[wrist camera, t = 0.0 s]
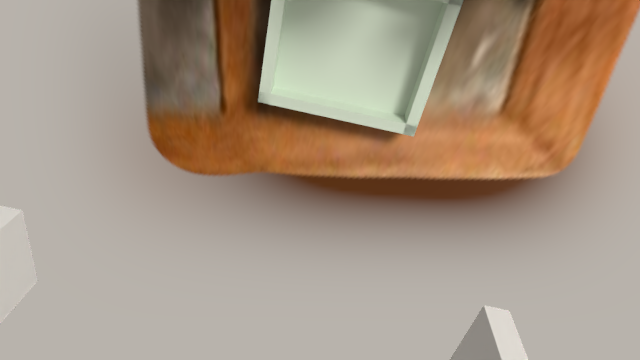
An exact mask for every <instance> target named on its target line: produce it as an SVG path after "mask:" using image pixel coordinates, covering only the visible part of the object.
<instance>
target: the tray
mask: <svg viewBox="0 0 640 360" xmlns="http://www.w3.org/2000/svg"><path fill="white" fill-rule="evenodd" d="M462 3H463V0H271V7H270V14H269V22H268V29H267V37H266V44H265V52H264V59H263V67H262V74H261V82H260V89H259V97H258V102H260V103H265V104H269V105H274V106H278V107H283V108H287V109H292V110H296V111H301V112H306V113H310V114H315V115H319V116H324V117H328V118H333V119H337V120H342V121H346V122H351V123H355V124H360V125H364V126H369V127H373V128H378V129H382V130H387V131H391V132H396V133H400V134H405V135H409V136H414V134H415V131H416V129H417V126H418V123H419V120H420V118H421V115H422V112H423V110H424V107H425V104H426V101H427V99H428V96H429V93H430V90H431V88H432V85H433V82H434V79H435V77H436V74H437V71H438V68H439V66H440V63H441V60H442V58H443V55H444V52H445V49H446V47H447V44H448V41H449V38H450V36H451V33H452V30H453V27H454V25H455V22H456V19H457V17H458V14H459V11H460V8H461V6H462Z"/></svg>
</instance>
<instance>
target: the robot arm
mask: <svg viewBox="0 0 640 360" xmlns="http://www.w3.org/2000/svg"><path fill="white" fill-rule="evenodd" d="M37 281H38V279H37V275H36V270H35V265H34V261H33V257H32V252H31V247H30V243H29V238H28V234H27V229H26V225H25V220H24V216H23V212H22V210H18V209H14V208H9V207H4V206H0V323H1V322H2V321H3V320H4V318H6V316H7V315H8V314H9V313H10V312H11V311H12V310H13V308H14V307H15V306H16V305H17V304H18V303H19V301H20V300H21V299H22V298H23V297H24V296H25V295H26V294H27V292H28V291H29V290H30V289H31V288H32V287H33V286H34V284H35V283H36V282H37ZM450 360H528V358H527V355H526V353H525V350H524V347H523V345H522V342H521V340H520V337H519V334H518V332H517V329H516V327H515V324H514V322H513V319H512V316H511V314H510V311H509V310H503V309H499V308H494V307H489V306H483V308H482V309H481V311H480V312H479V314H478V316H477V317H476V319H475V320H474V322H473V324H472V325H471V327H470V329H469V330H468V332H467V333H466V335H465V337H464V338H463V340H462V341H461V343H460V344H459V346H458V348H457V349H456V351H455V352H454V354H453V356H452V357H451V359H450Z"/></svg>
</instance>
